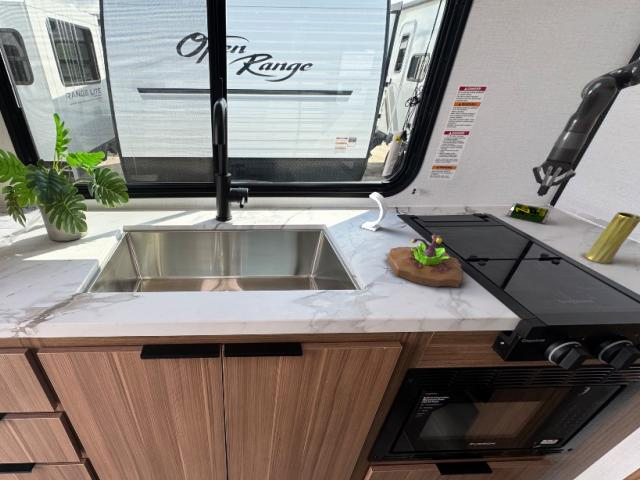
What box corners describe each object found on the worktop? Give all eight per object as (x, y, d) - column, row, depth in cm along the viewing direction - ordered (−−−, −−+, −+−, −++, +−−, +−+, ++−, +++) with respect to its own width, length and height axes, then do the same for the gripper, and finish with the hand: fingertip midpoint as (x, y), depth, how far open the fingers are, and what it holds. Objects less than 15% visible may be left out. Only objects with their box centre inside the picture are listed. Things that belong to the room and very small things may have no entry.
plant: (390, 280, 89) (403, 243, 82) (384, 250, 104) (394, 216, 98) (471, 292, 85) (490, 254, 78) (452, 258, 100) (467, 224, 94)
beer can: (541, 226, 125) (505, 218, 131) (546, 217, 127) (509, 209, 133) (548, 216, 121) (510, 208, 127) (552, 206, 122) (514, 199, 129)
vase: (603, 265, 98) (638, 220, 90) (579, 256, 103) (610, 213, 94) (614, 261, 100) (648, 217, 92) (590, 253, 105) (621, 210, 96)
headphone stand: (366, 223, 122) (374, 191, 115) (382, 228, 119) (391, 195, 112) (361, 227, 119) (369, 194, 112) (377, 231, 116) (386, 198, 109)
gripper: (593, 147, 111) (563, 197, 121) (545, 142, 119) (521, 189, 129) (592, 150, 107) (561, 202, 117) (542, 144, 114) (517, 193, 124)
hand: (540, 195), depth 123 cm, fingers closed
